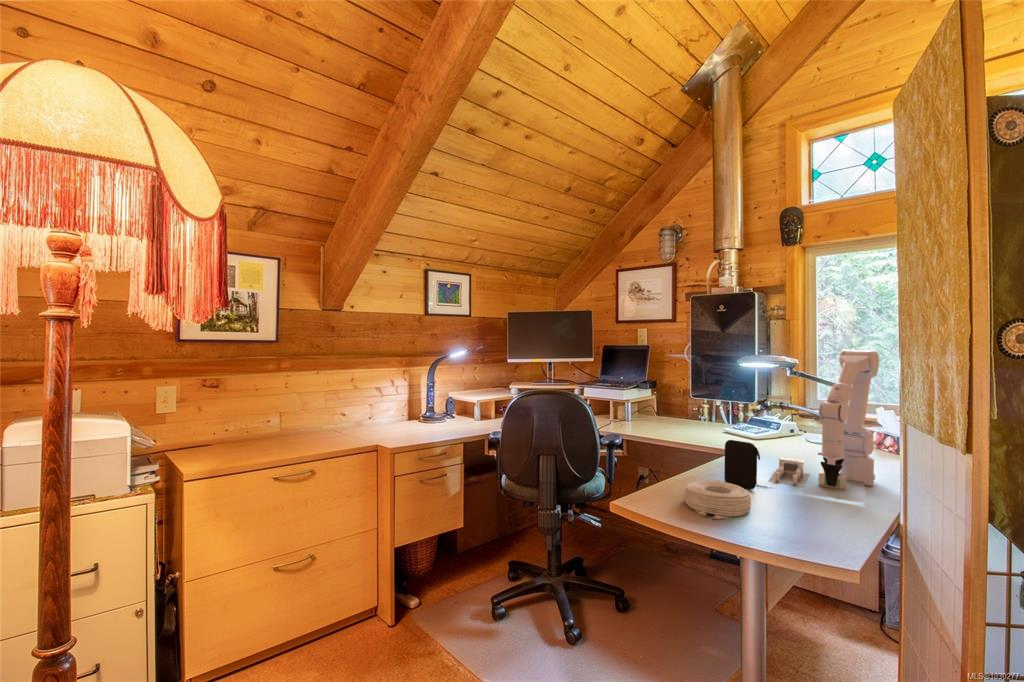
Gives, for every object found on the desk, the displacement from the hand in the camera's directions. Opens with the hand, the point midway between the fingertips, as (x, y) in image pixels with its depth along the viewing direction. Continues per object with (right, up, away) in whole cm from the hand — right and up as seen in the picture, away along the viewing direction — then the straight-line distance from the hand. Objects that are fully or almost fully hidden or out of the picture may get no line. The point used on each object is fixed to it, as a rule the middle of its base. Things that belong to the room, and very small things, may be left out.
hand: (832, 483), depth 152 cm
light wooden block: (0, -2, 0) cm, 2 cm away
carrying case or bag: (-29, -2, 0) cm, 29 cm away
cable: (-44, -2, -18) cm, 48 cm away
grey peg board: (-8, -2, +9) cm, 12 cm away
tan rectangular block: (-5, -1, +13) cm, 14 cm away
